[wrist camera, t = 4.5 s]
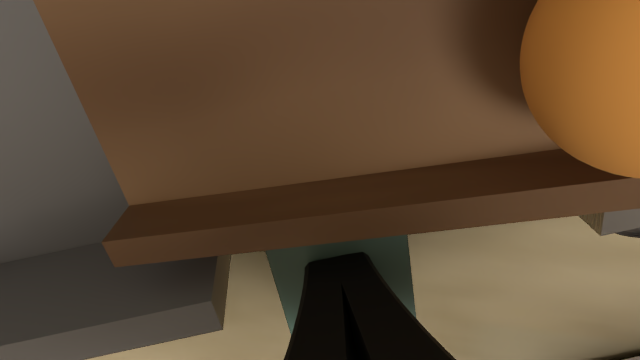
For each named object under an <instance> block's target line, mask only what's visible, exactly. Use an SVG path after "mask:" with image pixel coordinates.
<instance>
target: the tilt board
mask: <svg viewBox="0 0 640 360" xmlns="http://www.w3.org/2000/svg"><path fill="white" fill-rule="evenodd" d="M33 1H34V4H35V6H36V8H37V10H38V12H39V14H40V16H41V18H42V21H43V23H44V25H45V27H46V29H47V31H48V33H49V36H50V38H51V40H52V42H53V44H54V46H55V48H56V51H57V53H58V55H59V57H60V59H61V61H62V63H63V65H64V68H65V70H66V72H67V74H68V76H69V78H70V80H71V83H72V85H73V87H74V89H75V91H76V93H77V95H78V97H79V100H80V102H81V104H82V106H83V108H84V110H85V112H86V115H87V117H88V119H89V121H90V123H91V125H92V127H93V130H94V132H95V134H96V136H97V138H98V140H99V142H100V144H101V147H102V149H103V151H104V153H105V155H106V157H107V159H108V162H109V164H110V166H111V168H112V170H113V172H114V174H115V176H116V179H117V181H118V183H119V185H120V187H121V189H122V191H123V194H124V196H125V198H126V200H127V202H128V204H129V207H128V208H127V209H126V210H125V212H124V213H123V214H122V216H121V217H120V218H119V220H118V221H117V222H116V224H115V225H114V226H113V227H112V229H111V230H110V231H109V233H108V234H107V235H106V237H105V238H104V239H103V241H102V242H101V243H102V245H103V246H104V248H105V250H106V252H107V254H108V256H109V258H110V260H111V261H112V263H113V265H114V267H123V266H132V265H140V264H149V263H158V262H167V261H176V260H185V259H194V258H203V257H212V256H221V255H230V254H239V253H248V252H256V251H266V255H267V258H268V261H269V264H270V268H271V271H272V274H273V277H274V281H275V284H276V287H277V290H278V294H279V297H280V300H281V303H282V307H283V310H284V313H285V316H286V320H287V323H288V326H289V329H290V333H291V335H292V332H293V328H294V324H295V320H296V317H297V313H298V309H299V304H300V299H301V295H302V289H303V282H304V272H305V266H306V265H307V264H308V263H309V262H313V261H317V260H322V259H327V258H331V257H336V256H340V255H345V254H351V253H358V252H364V253H366V254H367V255H369V257H370V259H371V261H372V262H373V264H374V266H375V267H376V269H377V270H378V272H379V273H380V275H381V276H382V277H383V279H384V280H385V281H386V283H387V284H388V285H389V287H390V288H391V289H392V291H393V292H394V293H395V294H396V296H397V297H398V298H399V299H400V301H401V302H402V303H403V304H404V305H405V306H406V308H407V309H408V310H409V311H410V312H411V313H412V314H413V316H414V317H415V318H416V312H415V303H414V294H413V284H412V275H411V266H410V256H409V247H408V238H407V235H408V234H417V233H426V232H435V231H444V230H453V229H462V228H471V227H480V226H488V225H497V224H506V223H515V222H524V221H533V220H542V219H551V218H560V217H569V216H578V215H587V214H596V213H604V212H613V211H622V210H631V209H640V178H631V177H626V176H621V175H616V174H612V173H609V172H606V171H603V170H600V169H597V168H595V167H592V166H590V165H588V164H586V163H584V162H582V161H580V160H578V159H576V158H574V157H573V156H571V155H570V154H568V153H567V152H565V151H564V150H563V149H562V148H560V147H559V146H558V145H557V144H556V143H555V142H554V141H552V140H551V139H550V138H549V137H548V136H547V134H546V133H545V132H544V131H543V130H542V129H541V127H540V126H539V124H538V123H537V122H536V120H535V118H534V116H533V115H532V113H531V111H530V109H529V107H528V104H527V101H526V99H525V96H524V93H523V89H522V84H521V76H520V51H521V44H522V39H523V35H524V31H525V28H526V25H527V22H528V19H529V17H530V15H531V13H532V11H533V9H534V7H535V5H536V3H537V1H538V0H33Z"/></svg>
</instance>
